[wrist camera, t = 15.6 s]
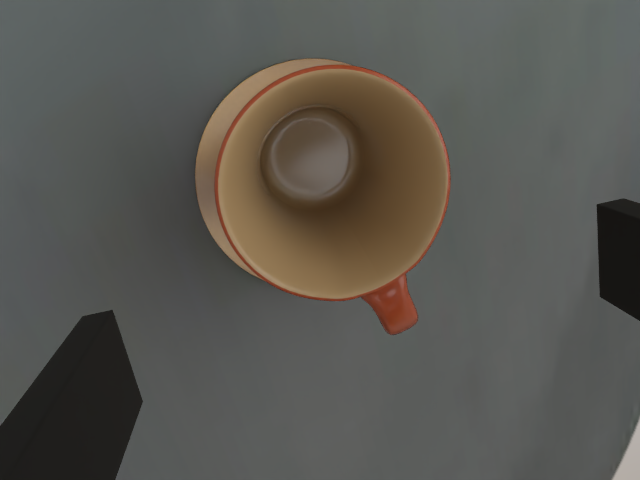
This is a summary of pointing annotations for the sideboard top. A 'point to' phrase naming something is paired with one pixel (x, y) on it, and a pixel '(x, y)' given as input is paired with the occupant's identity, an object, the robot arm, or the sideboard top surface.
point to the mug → (335, 187)
